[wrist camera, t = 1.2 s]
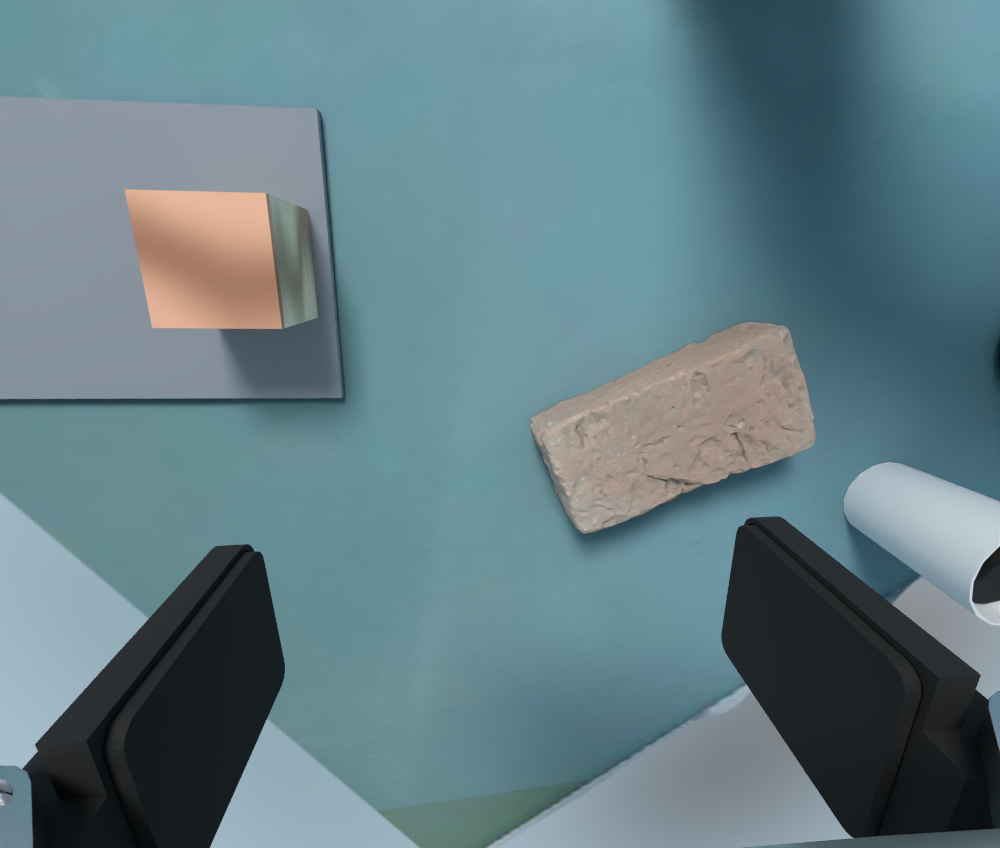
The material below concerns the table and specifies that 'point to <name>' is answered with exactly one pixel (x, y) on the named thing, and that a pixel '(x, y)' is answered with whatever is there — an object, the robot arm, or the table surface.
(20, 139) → the mat
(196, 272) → the cube
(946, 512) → the white cup
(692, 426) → the brick
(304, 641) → the table surface
